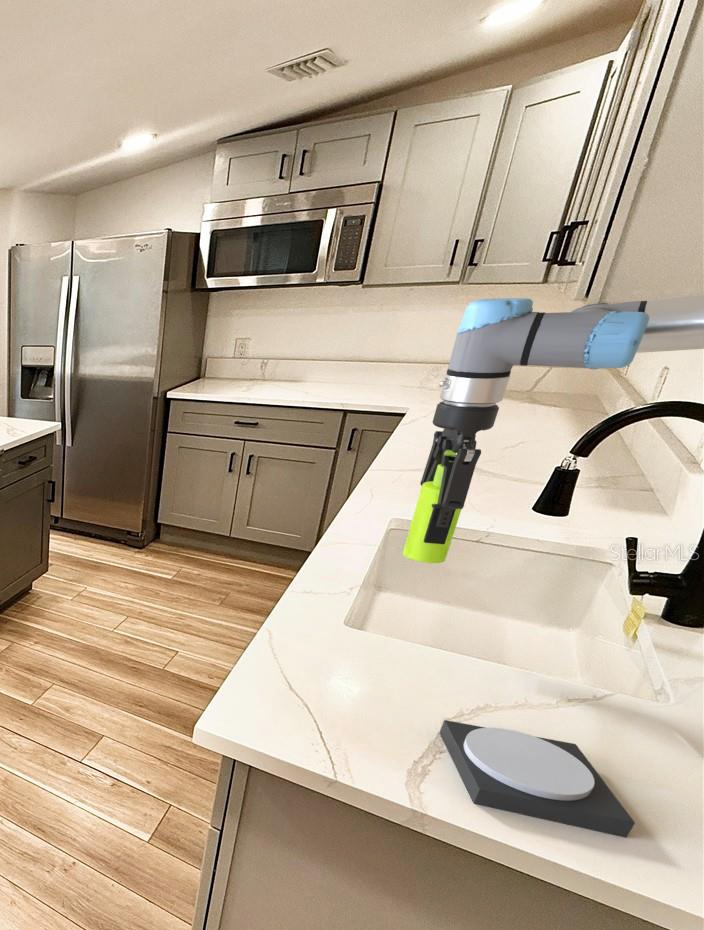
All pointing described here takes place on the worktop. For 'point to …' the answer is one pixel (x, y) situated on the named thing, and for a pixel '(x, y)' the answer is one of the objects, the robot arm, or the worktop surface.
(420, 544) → the soap dispenser
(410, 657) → the worktop surface
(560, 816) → the scale
